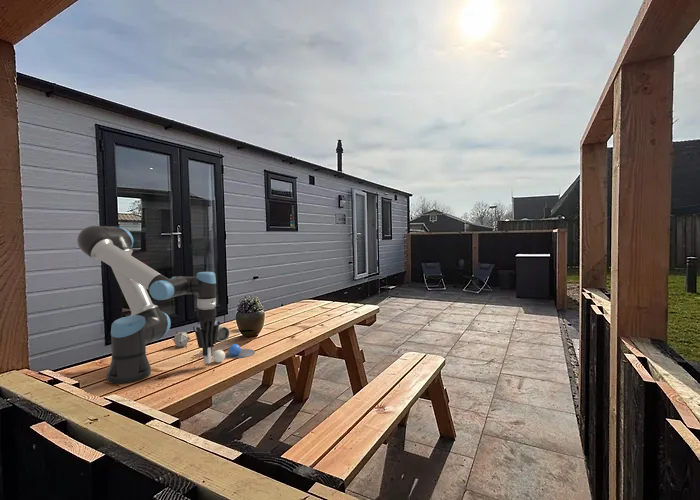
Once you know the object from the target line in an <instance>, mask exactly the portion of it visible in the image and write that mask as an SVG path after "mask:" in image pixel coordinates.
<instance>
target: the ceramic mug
mask: <svg viewBox="0 0 700 500" xmlns="http://www.w3.org/2000/svg"><path fill="white" fill-rule="evenodd" d="M229 337H230V330H229V328H228V327H226V326H223V325H219V327H218V333H217V339H216V341H219V342H225V341H227V340H228V339H229Z"/></svg>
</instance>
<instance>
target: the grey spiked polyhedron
mask: <svg viewBox="0 0 700 500" xmlns="http://www.w3.org/2000/svg"><path fill="white" fill-rule="evenodd" d="M175 333H176V334H175V336H174V338H171V340H172V341H173V342H174V345H175V349H177V348H180V347H181V348H182V347H185V348H187V347H188V346H187V345H188V343H189V341H190V340H191V338H190V337H189V335H188V330H186V331H183V332H181V331H180V332H178V331H175Z"/></svg>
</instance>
